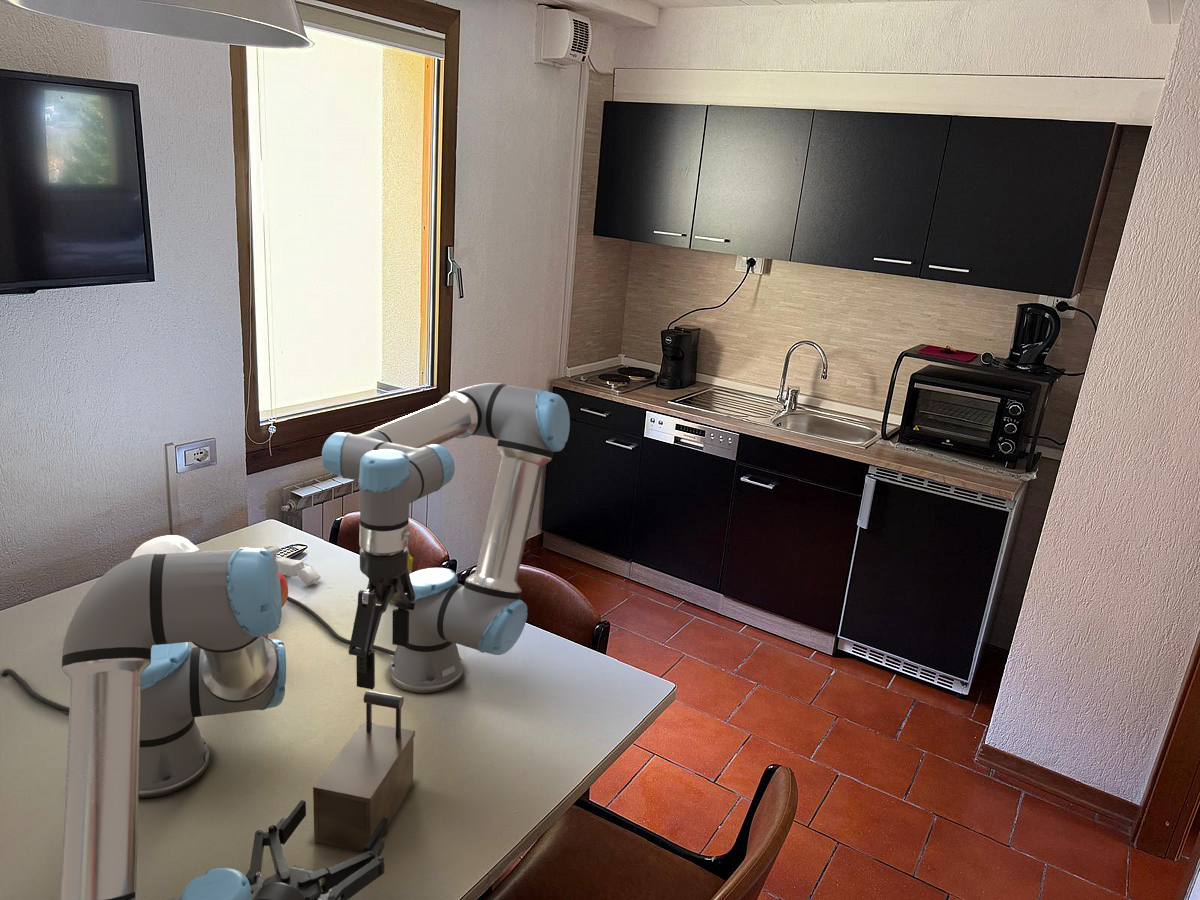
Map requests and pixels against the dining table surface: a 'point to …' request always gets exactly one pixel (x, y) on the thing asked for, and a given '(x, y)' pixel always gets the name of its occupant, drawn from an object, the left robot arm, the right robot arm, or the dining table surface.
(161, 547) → the skull
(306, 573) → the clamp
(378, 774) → the lid
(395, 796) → the chest
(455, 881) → the dining table surface
